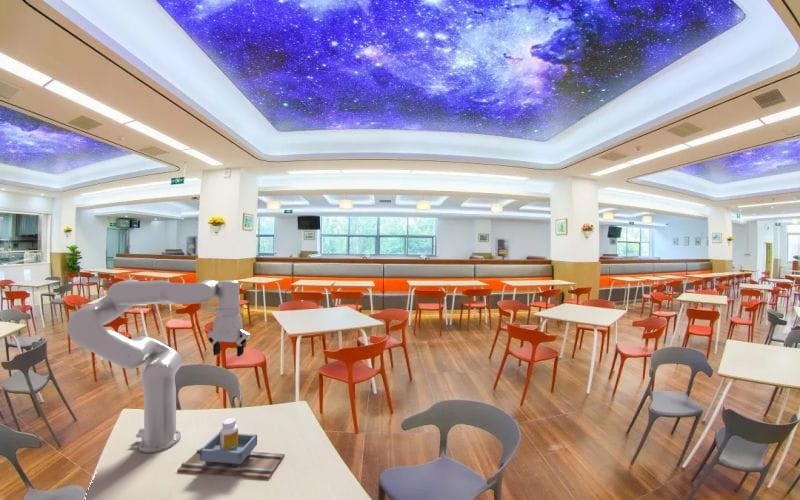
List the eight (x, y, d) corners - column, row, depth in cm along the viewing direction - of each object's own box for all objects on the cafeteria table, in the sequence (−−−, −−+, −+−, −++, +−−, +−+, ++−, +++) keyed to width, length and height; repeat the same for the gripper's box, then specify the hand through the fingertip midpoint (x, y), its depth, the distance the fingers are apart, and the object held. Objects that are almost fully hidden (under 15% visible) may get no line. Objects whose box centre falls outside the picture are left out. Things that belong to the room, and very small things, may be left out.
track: (177, 471, 104) (177, 467, 104) (201, 450, 115) (201, 446, 115) (269, 479, 102) (269, 474, 102) (284, 456, 113) (284, 452, 113)
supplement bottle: (241, 446, 110) (241, 418, 110) (228, 455, 105) (228, 426, 105) (229, 442, 112) (229, 415, 112) (216, 452, 107) (216, 423, 107)
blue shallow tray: (199, 467, 104) (199, 450, 104) (219, 448, 114) (219, 432, 114) (240, 470, 103) (240, 453, 103) (257, 450, 113) (257, 434, 113)
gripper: (201, 313, 124) (201, 357, 124) (244, 314, 122) (243, 359, 123) (214, 309, 131) (214, 350, 132) (254, 310, 130) (254, 352, 130)
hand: (228, 354), depth 127 cm, fingers open, 9 cm apart
